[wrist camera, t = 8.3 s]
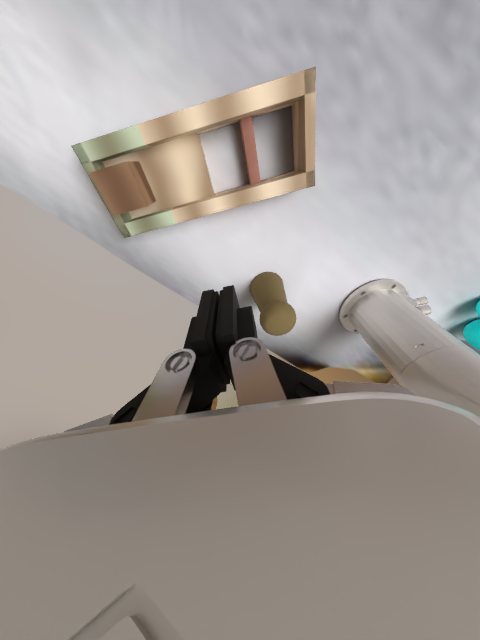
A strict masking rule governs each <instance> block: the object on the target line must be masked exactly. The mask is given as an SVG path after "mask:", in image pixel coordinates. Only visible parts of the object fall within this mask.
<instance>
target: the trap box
mask: <svg viewBox="0 0 480 640" xmlns="http://www.w3.org/2000/svg"><path fill="white" fill-rule="evenodd" d="M315 77H316V67H313V68H310V69H307V70H304V71H301V72H298V73H295V74H292V75H289V76H285V77H282V78H279V79H276V80H273V81H270V82H267V83H264V84H261V85H258V86H255V87H251V88H248V89H245V90H242V91H239V92H236V93H233V94H230V95H227V96H224V97H221V98H218V99H214V100H211V101H208V102H205V103H202V104H199V105H196V106H193V107H190V108H187V109H184V110H181V111H177V112H174V113H171V114H168V115H165V116H162V117H159V118H156V119H153V120H150V121H147V122H144V123H140V124H137V125H134V126H131V127H128V128H125V129H122V130H119V131H116V132H113V133H110V134H107V135H103V136H100V137H97V138H94V139H91V140H88V141H85V142H82V143H79V144H76V145H73V146H72V148H73V150H74V152H75V153H76V155H77V157H78V158H79V160H80V162H81V164H82V165H83V167H84V169H85V171H86V172H87V174H88V176H89V178H90V179H91V181H92V183H93V185H94V186H95V188H96V190H97V192H98V193H99V195H100V197H101V198H102V200H103V202H104V204H105V205H106V207H107V209H108V211H109V212H110V214H111V216H112V218H113V219H114V221H115V223H116V225H117V226H118V228H119V230H120V232H121V233H122V235H123V237H124V238H126V237H129V236H133V235H137V234H140V233H144V232H148V231H151V230H155V229H158V228H162V227H166V226H169V225H173V224H177V223H180V222H184V221H188V220H191V219H195V218H199V217H202V216H206V215H210V214H213V213H217V212H220V211H224V210H228V209H231V208H235V207H239V206H242V205H246V204H250V203H253V202H257V201H261V200H264V199H268V198H272V197H275V196H279V195H282V194H286V193H290V192H293V191H297V190H301V189H304V188H308V187H312V186H315ZM288 106H292V126H293V148H294V170H295V171H293V172H289V173H286V174H282V175H279V176H275V177H272V178H268V179H265V180H261V181H260V175H259V167H258V160H257V153H256V145H255V138H254V130H253V123H252V118H253V117H256V116H259V115H263V114H266V113H269V112H272V111H276V110H279V109H282V108H285V107H288ZM237 122H239V124H240V130H241V136H242V142H243V148H244V154H245V160H246V166H247V172H248V179H249V184H247V185H243V186H240V187H236V188H233V189H229V190H226V191H222V192H219V193H215V194H214V190H213V186H212V182H211V179H210V175H209V171H208V167H207V164H206V160H205V156H204V152H203V148H202V145H201V141H200V137H199V134H202V133H205V132H208V131H211V130H214V129H218V128H221V127H224V126H227V125H231V124H234V123H237ZM126 161H139V162H140V164H141V166H142V169H143V171H144V173H145V176H146V178H147V180H148V183H149V185H150V187H151V190H152V192H153V194H154V197H155V199H156V201H155V202H154V203H152V204H150V205H149V206H147V207H143V208H140V209H136V210H133V211H129V212H126V213H122V214H119V215H115V216H113V214H112V212H111V210H110V209H109V207H108V205H107V203H106V202H105V200H104V198H103V196H102V195H101V193H100V191H99V189H98V188H97V186H96V184H95V182H94V180H93V179H92V177H91V175H90V172H93V171H97V170H100V169H103V168H106V167H110V166H113V165H116V164H119V163H123V162H126Z"/></svg>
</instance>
